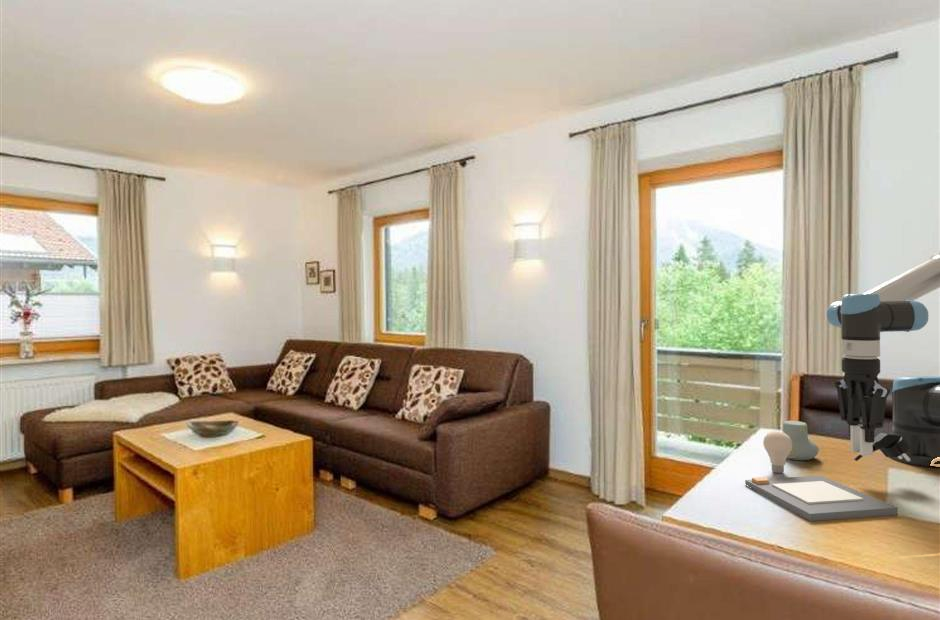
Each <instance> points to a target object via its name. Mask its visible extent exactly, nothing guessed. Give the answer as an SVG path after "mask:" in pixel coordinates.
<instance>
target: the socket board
mask: <svg viewBox="0 0 940 620" xmlns="http://www.w3.org/2000/svg"><path fill="white" fill-rule="evenodd" d="M744 483H745V484H746V485H748V486H749V487H751V488H753V489H754V490H753V489H752V490H753V491H755V490H756V491H758V492H759V493H758V492H757V493H758V494H760V493H761V494H760V495H762V494H763V495H764V496H763V495H762V496H763V497H765V496H766V497H765V498H767V497H768V498H767V499H769V500H771V501H772V502H774V501H775V502H774V503H776V504H778V505H779V506H781V507H783V508H785V509H787V510H789V511H790V512H792V513H794V514H796V515H798V516H799V517H801V518H803V519H806V520H807V521H809V522H817V521H830V520H844V519H845V520H846V519H858V518H859V519H860V518H873V517H886V516H898V513H899V512H898V511H899V509H898V507H897V506H895V505H892V504H891V503H888V502H885V501H883V500H881V499H878V498H875V497H873V496H871V495H868V494H866V493H863V492H861V491H858V490H857V489H854V488H851V487H849V486H847V485H844V484H842V483H840V482H838V481H836V480H835V481H834V480H833V479H830V478H827V477H825V476H823V475H820V474H819V475H808V476H807V475H806V476H804V475H803V476H789V477H787V476H786V477H773V478H772V477H771V478H766V477H763V476H762V477H751V479H745V480H744ZM746 485H745V486H746ZM749 487H748V488H749ZM751 488H750V489H751ZM756 491H755V492H756Z"/></svg>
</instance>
